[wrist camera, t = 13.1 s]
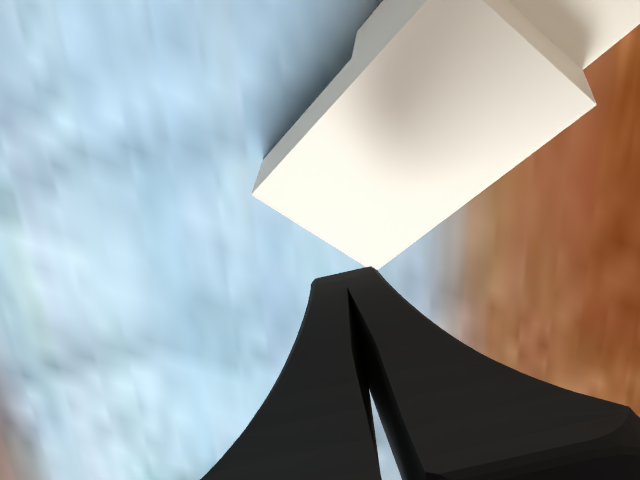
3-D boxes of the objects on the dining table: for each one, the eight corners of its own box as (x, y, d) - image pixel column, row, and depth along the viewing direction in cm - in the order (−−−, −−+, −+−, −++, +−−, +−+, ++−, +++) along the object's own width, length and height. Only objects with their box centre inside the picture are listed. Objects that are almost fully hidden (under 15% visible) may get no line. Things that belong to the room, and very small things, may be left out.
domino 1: (374, 272, 17) (596, 104, 13) (251, 194, 16) (452, -28, 11) (377, 235, 18) (582, 69, 14) (262, 160, 17) (449, -55, 12)
